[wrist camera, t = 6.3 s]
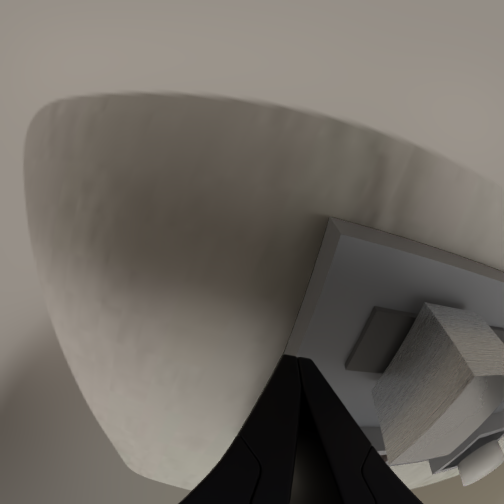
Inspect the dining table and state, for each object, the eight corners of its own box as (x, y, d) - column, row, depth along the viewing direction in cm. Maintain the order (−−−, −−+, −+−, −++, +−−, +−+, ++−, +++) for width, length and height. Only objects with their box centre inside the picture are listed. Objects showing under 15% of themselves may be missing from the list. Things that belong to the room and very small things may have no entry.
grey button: (504, 436, 10) (512, 454, 8) (475, 462, 11) (481, 479, 9) (480, 444, 10) (488, 465, 8) (448, 470, 11) (454, 490, 9)
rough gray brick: (477, 313, 8) (524, 372, 5) (424, 392, 10) (448, 454, 6) (424, 302, 8) (474, 375, 5) (371, 391, 10) (388, 464, 6)
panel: (568, 299, 10) (592, 322, 6) (474, 432, 15) (485, 458, 12) (329, 216, 10) (353, 254, 6) (248, 438, 16) (241, 482, 12)
